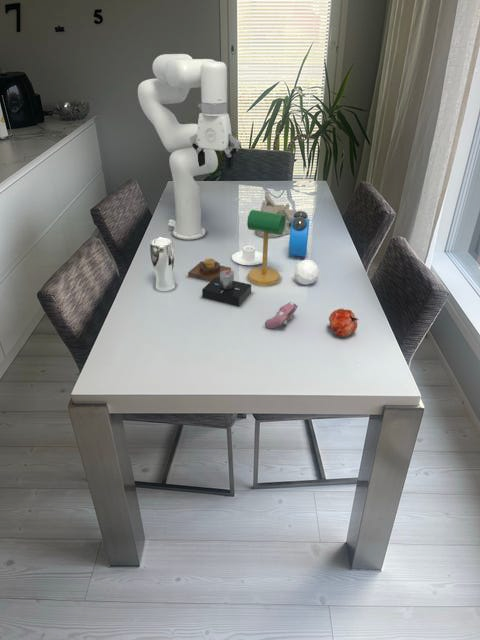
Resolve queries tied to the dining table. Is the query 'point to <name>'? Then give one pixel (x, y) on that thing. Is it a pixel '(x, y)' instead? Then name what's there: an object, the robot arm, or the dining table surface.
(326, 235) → the dining table surface
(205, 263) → the button
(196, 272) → the switch block
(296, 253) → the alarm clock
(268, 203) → the ceramic cottage
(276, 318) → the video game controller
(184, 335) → the dining table surface
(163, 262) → the beer glass
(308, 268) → the geometric ball
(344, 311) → the pomegranate
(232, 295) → the dimmer panel
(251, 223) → the desk lamp
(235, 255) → the candle holder
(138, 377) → the dining table surface
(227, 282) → the dimmer knob
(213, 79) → the robot arm
